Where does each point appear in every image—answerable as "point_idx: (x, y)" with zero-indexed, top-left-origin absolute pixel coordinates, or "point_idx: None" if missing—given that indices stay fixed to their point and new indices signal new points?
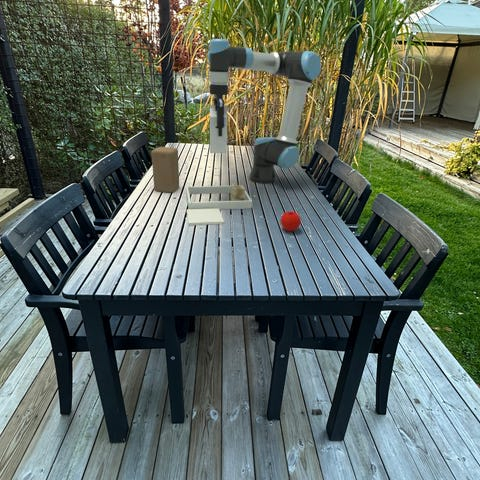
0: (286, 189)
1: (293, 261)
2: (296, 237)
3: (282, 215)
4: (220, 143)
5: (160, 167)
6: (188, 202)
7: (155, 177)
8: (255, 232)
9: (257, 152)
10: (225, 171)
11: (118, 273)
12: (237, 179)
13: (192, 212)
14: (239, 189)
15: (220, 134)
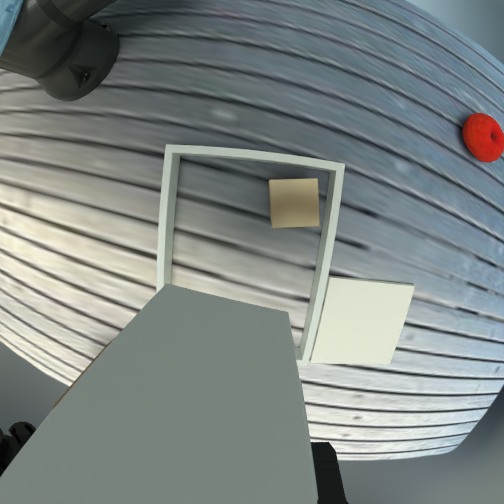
0: (188, 7)
1: None
2: None
3: (487, 154)
4: None
5: None
6: (300, 365)
7: None
8: (466, 223)
9: (26, 53)
10: (6, 168)
11: (455, 426)
12: (61, 139)
13: (335, 351)
14: (318, 203)
15: (324, 464)
